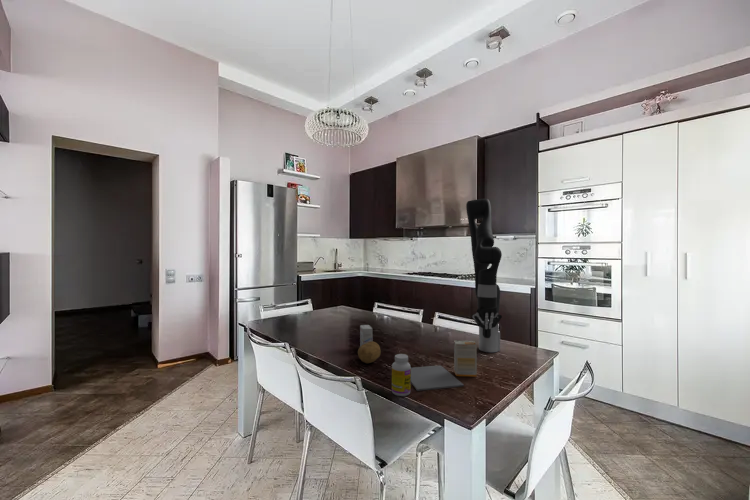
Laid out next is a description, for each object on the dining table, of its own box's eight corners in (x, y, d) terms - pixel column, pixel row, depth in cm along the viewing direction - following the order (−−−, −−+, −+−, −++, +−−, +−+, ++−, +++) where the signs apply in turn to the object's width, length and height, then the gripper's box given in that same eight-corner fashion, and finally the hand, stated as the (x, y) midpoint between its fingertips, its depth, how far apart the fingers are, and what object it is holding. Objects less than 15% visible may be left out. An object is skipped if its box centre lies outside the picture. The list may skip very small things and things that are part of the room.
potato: (352, 365, 137) (352, 347, 137) (364, 355, 151) (364, 338, 151) (373, 369, 134) (373, 350, 134) (384, 358, 147) (384, 341, 147)
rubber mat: (440, 366, 137) (440, 365, 137) (463, 386, 118) (463, 384, 118) (400, 369, 133) (400, 368, 133) (417, 390, 114) (417, 389, 114)
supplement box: (474, 372, 131) (474, 340, 131) (476, 377, 126) (477, 344, 126) (453, 371, 131) (453, 339, 131) (455, 376, 127) (455, 343, 127)
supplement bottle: (405, 398, 108) (405, 360, 108) (388, 394, 111) (388, 357, 111) (413, 391, 113) (413, 355, 113) (397, 386, 117) (397, 351, 117)
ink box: (373, 353, 155) (373, 328, 155) (362, 353, 154) (362, 329, 153) (369, 347, 163) (369, 324, 163) (359, 348, 162) (359, 324, 162)
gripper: (496, 294, 136) (495, 334, 136) (467, 294, 133) (467, 336, 133) (507, 296, 129) (506, 339, 129) (477, 297, 126) (476, 341, 126)
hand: (486, 337), depth 131 cm, fingers closed
